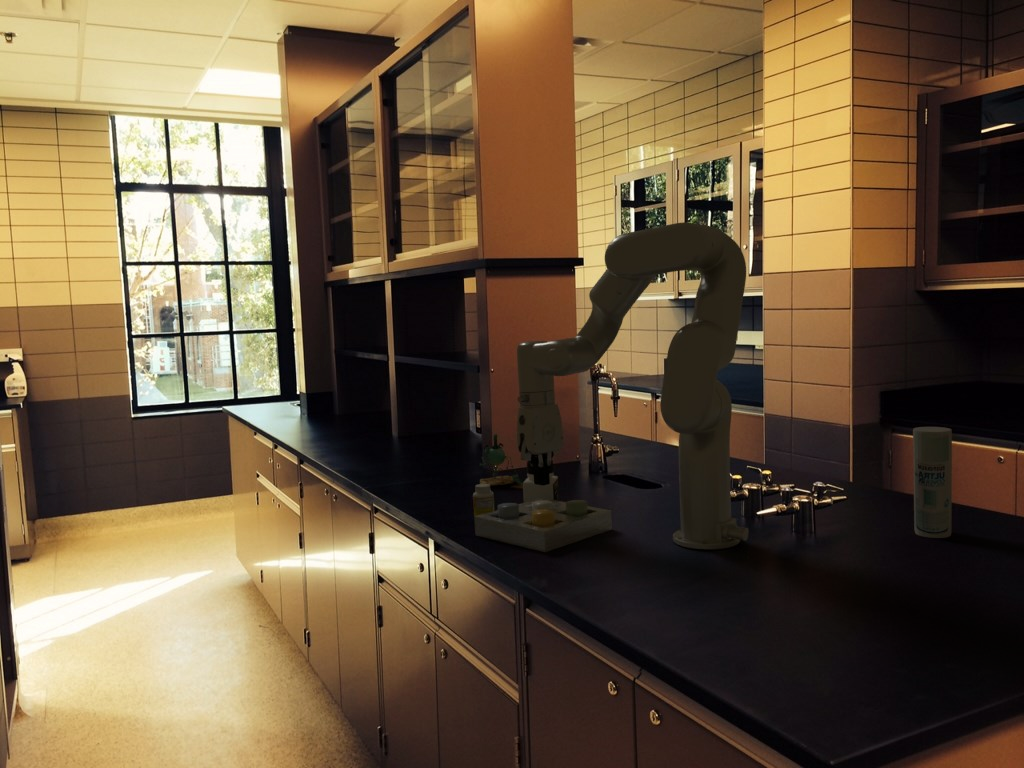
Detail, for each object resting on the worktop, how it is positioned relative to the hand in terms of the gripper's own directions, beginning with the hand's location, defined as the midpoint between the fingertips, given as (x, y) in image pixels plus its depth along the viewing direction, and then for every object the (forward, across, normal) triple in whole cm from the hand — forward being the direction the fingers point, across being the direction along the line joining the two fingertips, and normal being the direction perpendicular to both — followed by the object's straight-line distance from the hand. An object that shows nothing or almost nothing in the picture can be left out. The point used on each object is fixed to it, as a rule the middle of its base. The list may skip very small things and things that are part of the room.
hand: (541, 484), depth 177 cm
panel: (+9, -5, -5) cm, 11 cm away
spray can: (+10, +38, -66) cm, 76 cm away
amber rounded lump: (+7, -10, -10) cm, 16 cm away
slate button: (+7, -10, 0) cm, 12 cm away
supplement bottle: (+9, -7, +11) cm, 16 cm away
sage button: (+7, 0, -10) cm, 12 cm away
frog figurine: (+9, +22, +38) cm, 45 cm away
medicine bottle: (+9, +9, +9) cm, 16 cm away
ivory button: (+8, 0, 0) cm, 8 cm away
